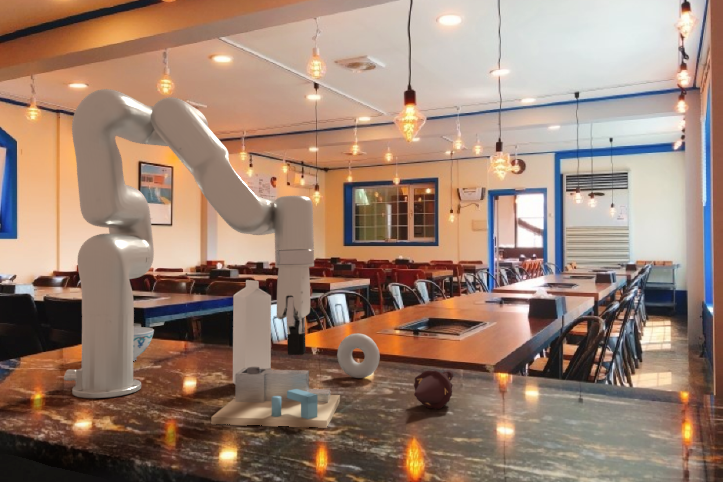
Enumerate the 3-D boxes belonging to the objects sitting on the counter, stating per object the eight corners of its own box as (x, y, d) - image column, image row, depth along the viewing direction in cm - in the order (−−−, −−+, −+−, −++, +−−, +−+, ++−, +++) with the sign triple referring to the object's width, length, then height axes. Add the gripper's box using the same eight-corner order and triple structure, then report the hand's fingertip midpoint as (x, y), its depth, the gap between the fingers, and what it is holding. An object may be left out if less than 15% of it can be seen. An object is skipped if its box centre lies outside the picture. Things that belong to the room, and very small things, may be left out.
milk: (244, 389, 116) (244, 281, 116) (232, 383, 121) (232, 280, 121) (271, 384, 120) (271, 280, 120) (258, 379, 124) (258, 279, 125)
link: (235, 401, 101) (235, 373, 101) (243, 394, 106) (244, 367, 107) (326, 404, 100) (327, 375, 100) (331, 396, 105) (331, 369, 105)
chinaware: (139, 367, 137) (139, 335, 137) (78, 366, 137) (78, 335, 137) (162, 355, 152) (162, 327, 152) (106, 355, 152) (107, 326, 152)
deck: (211, 424, 92) (211, 416, 92) (241, 398, 108) (241, 392, 108) (326, 428, 90) (326, 420, 90) (339, 401, 106) (339, 395, 106)
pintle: (245, 399, 103) (245, 368, 103) (249, 396, 105) (249, 366, 105) (257, 400, 102) (257, 369, 103) (260, 397, 105) (260, 366, 105)
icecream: (440, 382, 94) (471, 374, 107) (402, 367, 98) (436, 360, 111) (429, 422, 95) (461, 409, 107) (391, 405, 98) (427, 394, 111)
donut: (334, 377, 126) (334, 333, 126) (340, 374, 129) (341, 330, 130) (376, 381, 122) (376, 335, 123) (381, 378, 126) (382, 333, 126)
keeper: (269, 422, 93) (269, 393, 93) (294, 416, 97) (294, 388, 97) (292, 431, 89) (292, 400, 89) (317, 424, 92) (317, 394, 92)
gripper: (284, 259, 118) (286, 347, 117) (265, 260, 103) (267, 361, 103) (320, 258, 117) (322, 347, 117) (306, 259, 102) (308, 361, 102)
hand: (296, 353), depth 110 cm, fingers closed
